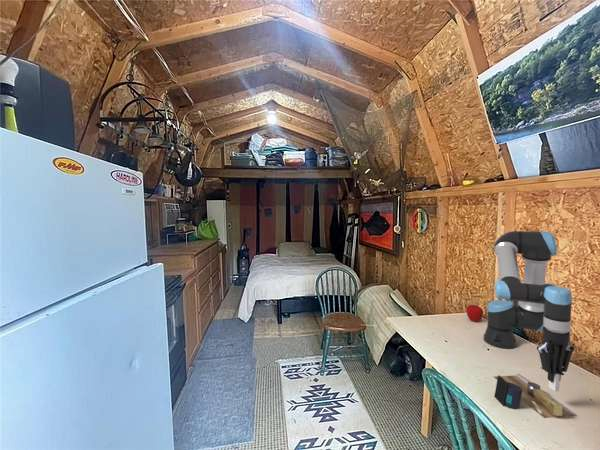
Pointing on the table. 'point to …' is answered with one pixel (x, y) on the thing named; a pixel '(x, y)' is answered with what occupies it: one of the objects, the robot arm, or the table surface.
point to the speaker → (508, 393)
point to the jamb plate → (533, 401)
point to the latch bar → (544, 399)
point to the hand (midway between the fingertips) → (553, 388)
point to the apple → (474, 313)
